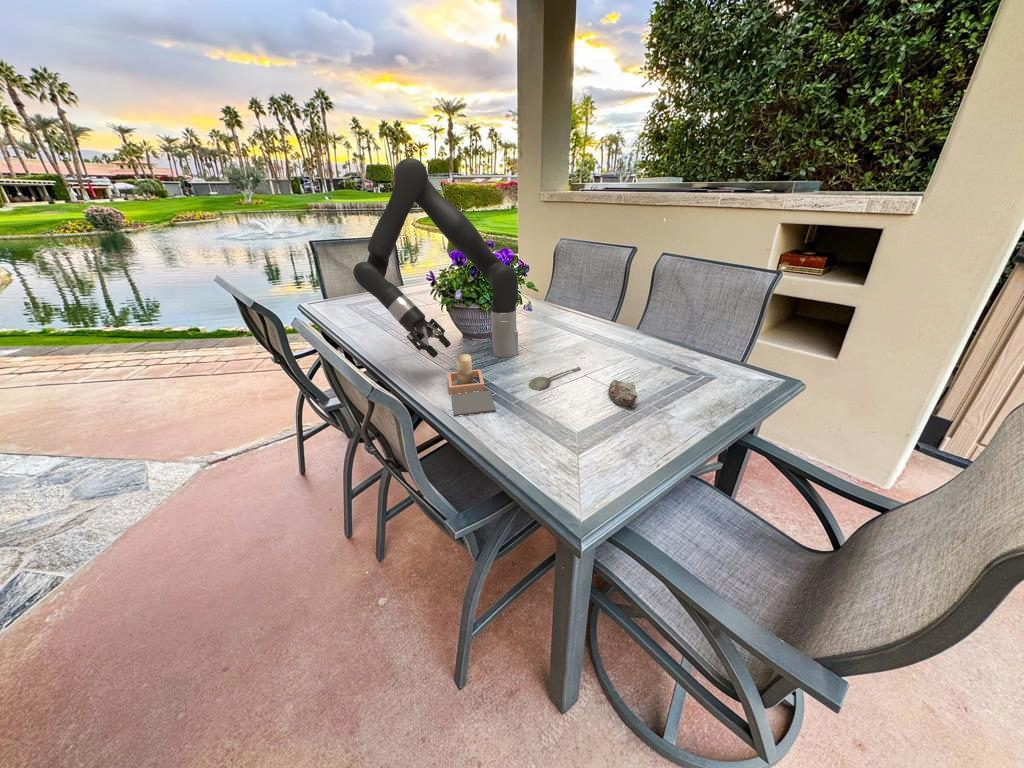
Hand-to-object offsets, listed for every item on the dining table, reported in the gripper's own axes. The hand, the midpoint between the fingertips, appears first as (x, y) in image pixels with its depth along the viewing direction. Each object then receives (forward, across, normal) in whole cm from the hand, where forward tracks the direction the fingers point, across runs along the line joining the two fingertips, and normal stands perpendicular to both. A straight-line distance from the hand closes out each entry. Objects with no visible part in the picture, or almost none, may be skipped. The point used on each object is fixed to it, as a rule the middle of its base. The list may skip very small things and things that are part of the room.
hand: (442, 350), depth 126 cm
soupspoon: (+33, +13, -16) cm, 38 cm away
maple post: (+13, 0, +3) cm, 13 cm away
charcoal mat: (+18, -11, -2) cm, 21 cm away
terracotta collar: (+13, 0, +3) cm, 13 cm away
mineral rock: (+48, +6, -32) cm, 58 cm away
